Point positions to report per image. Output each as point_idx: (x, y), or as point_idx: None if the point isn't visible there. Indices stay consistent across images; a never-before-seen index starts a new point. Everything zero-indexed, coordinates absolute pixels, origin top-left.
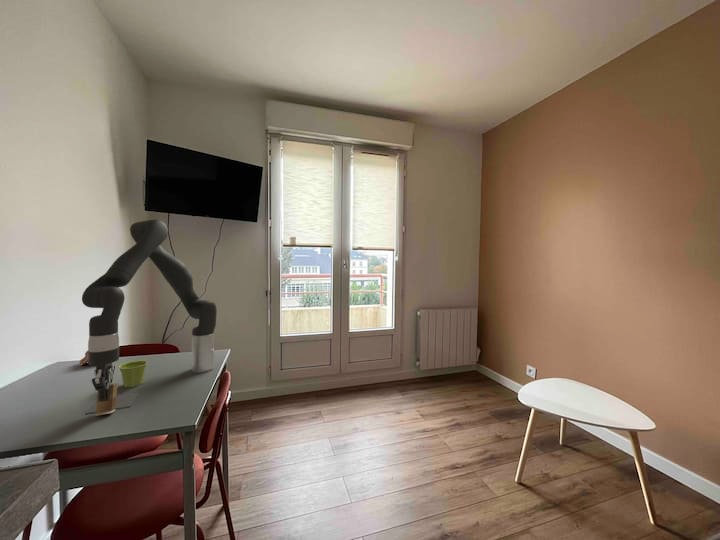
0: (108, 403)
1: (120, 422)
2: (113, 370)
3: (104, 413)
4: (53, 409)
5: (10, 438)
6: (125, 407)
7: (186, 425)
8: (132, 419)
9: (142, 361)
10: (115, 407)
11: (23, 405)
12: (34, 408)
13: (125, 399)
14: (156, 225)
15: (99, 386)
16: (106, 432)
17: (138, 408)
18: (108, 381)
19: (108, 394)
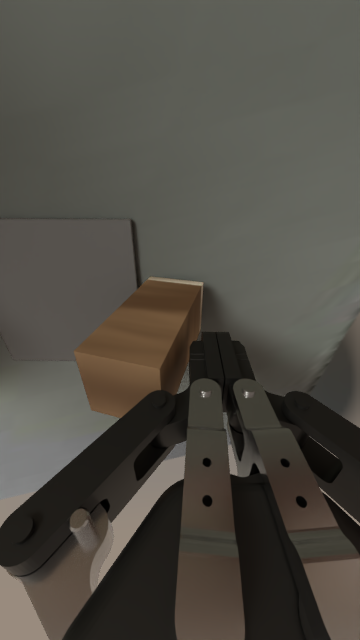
0: (192, 316)
1: (293, 222)
2: (74, 494)
3: (201, 306)
4: (78, 429)
5: None
6: (132, 242)
7: None
8: (296, 170)
9: None
10: (145, 282)
11: (39, 474)
12: (61, 457)
13: (42, 264)
14: None
15: (298, 444)
16: (357, 254)
17: (164, 170)
18: (292, 436)
19: (219, 347)
